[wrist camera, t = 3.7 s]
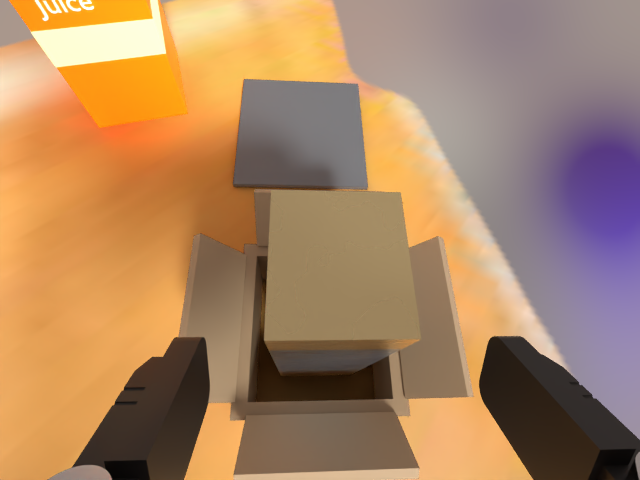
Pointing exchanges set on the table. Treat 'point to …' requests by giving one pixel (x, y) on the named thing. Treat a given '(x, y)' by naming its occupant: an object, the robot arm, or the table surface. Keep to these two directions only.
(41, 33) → the orange juice
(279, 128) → the felt mat
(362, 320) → the tall two-tone pillar
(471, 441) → the table surface
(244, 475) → the carton
